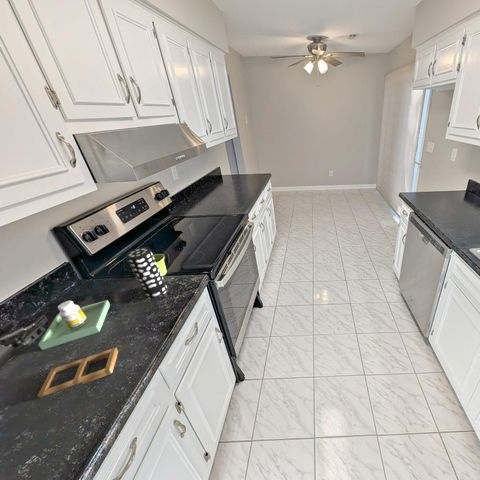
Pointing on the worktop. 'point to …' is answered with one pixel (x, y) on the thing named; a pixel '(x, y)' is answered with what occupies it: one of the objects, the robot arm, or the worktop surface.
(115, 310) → the worktop surface
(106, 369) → the bottle rack
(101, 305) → the tray
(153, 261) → the white-spotted black cylinder
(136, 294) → the worktop surface
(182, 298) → the worktop surface
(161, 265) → the plant pot
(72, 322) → the supplement bottle
